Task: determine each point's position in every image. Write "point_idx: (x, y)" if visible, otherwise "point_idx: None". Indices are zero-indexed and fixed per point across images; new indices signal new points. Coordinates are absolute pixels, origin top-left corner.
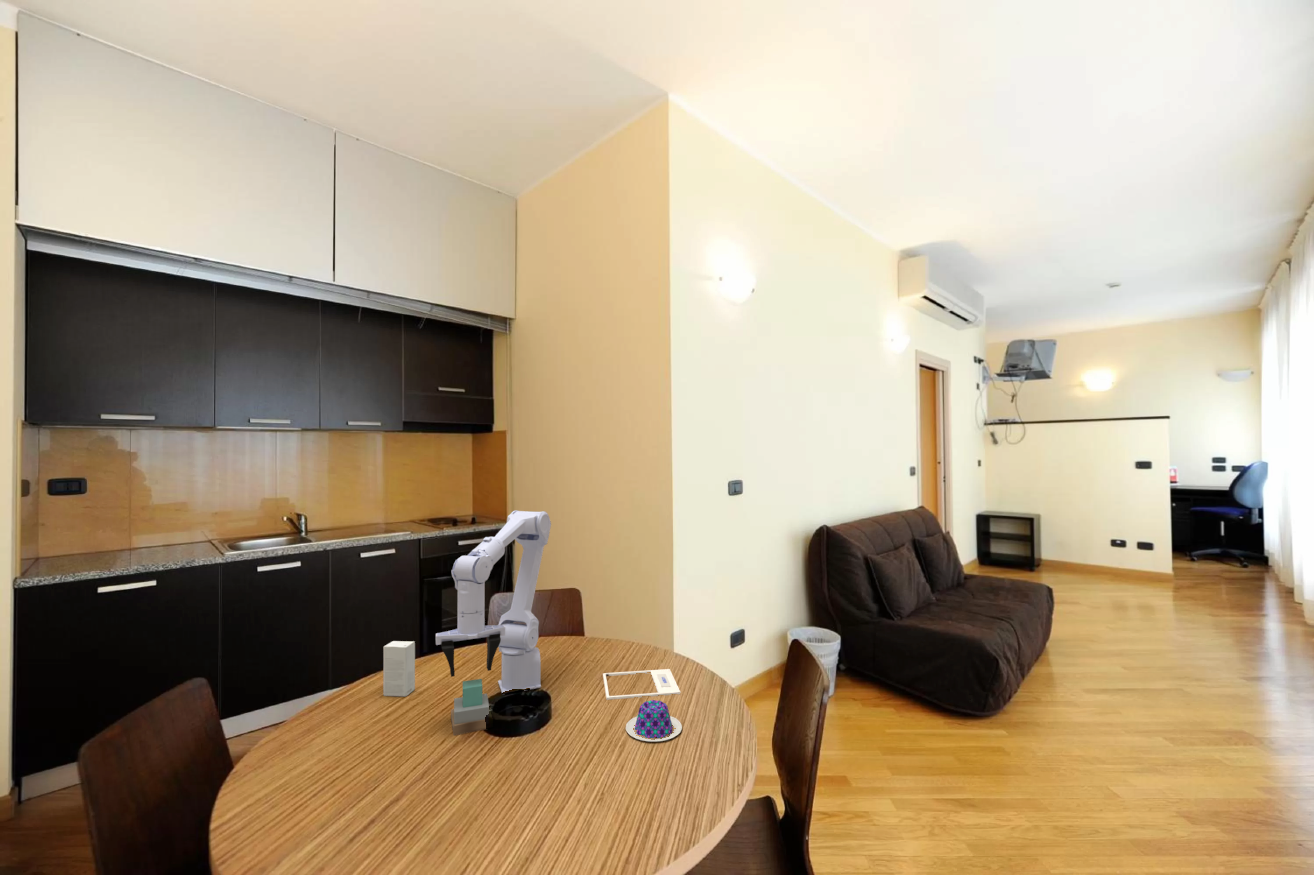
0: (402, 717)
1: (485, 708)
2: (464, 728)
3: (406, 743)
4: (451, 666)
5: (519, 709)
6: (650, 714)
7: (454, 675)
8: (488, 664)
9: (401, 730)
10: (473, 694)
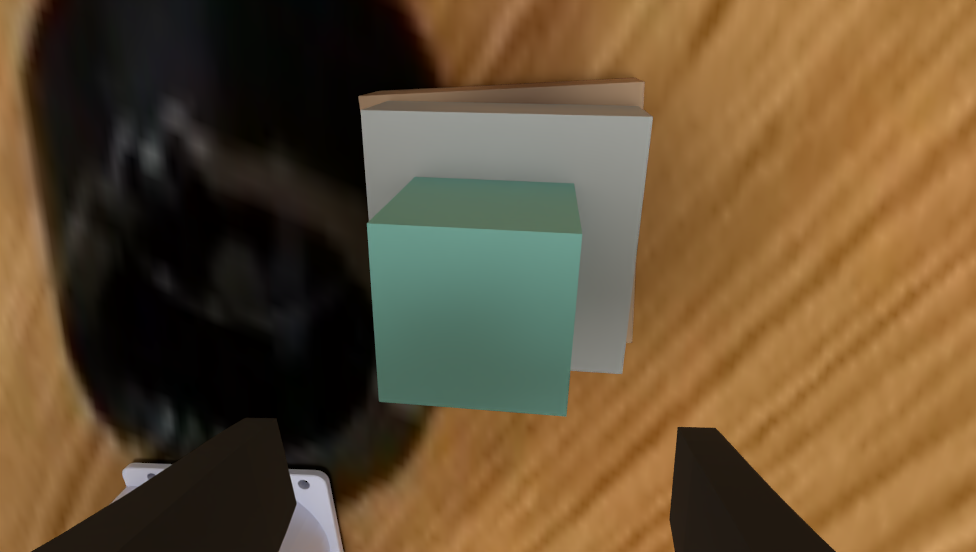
0: (890, 440)
1: (392, 108)
2: (564, 83)
3: (952, 87)
4: (775, 519)
5: (228, 268)
6: None
7: (679, 432)
8: (221, 456)
9: (936, 285)
10: (474, 206)
